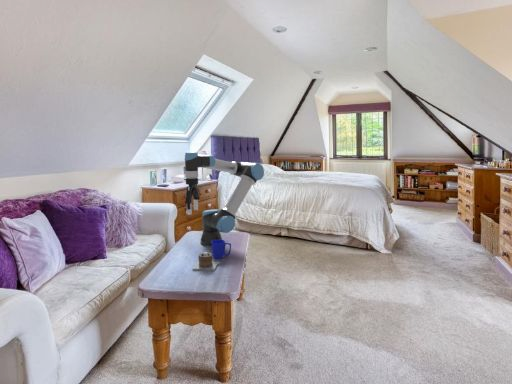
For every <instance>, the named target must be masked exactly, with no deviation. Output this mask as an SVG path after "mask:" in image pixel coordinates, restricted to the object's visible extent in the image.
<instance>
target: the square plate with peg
mask: <svg viewBox="0 0 512 384" xmlns="http://www.w3.org/2000/svg"><path fill="white" fill-rule="evenodd" d="M203 253H204V256H208V253H209V252H207V251H205V252H203ZM212 263H213V264H212V266H211V267H207V268H206V267H200V266H199V260H198V261H197V262H196V263H195V265H194V266H193V267H192V271H197V272H198V271H201V272H215V270H216V269H217V267H218V266H219V264H220V261H215V260H212Z"/></svg>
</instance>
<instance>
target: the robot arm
mask: <svg viewBox="0 0 512 384" xmlns="http://www.w3.org/2000/svg"><path fill="white" fill-rule="evenodd" d="M184 167H185V168H184V169H185V170H184V171H185V172H184V174H185V185H188V186H186V194H185V202H184V204H186V215H189V216H190V215H193V213H192V212H193V211H199V200H200V194H199V189H198V185H199V169H200V168H202V169H207V170H213V171H219V172H222V173H223V172H224V173H228V174H230V176H231V175H232V176H237V177H239V178H240V180H239V182H238V184H236V185H237V186H236V187H235V189H234V190H233V193H232V194H231V196H230V198H229V199H228V201H227V202H226V204H225V206H224V207H223V208H220V210H219V209H217V208H216V209H207V210H206V209H205V210H203V211H202V216H201V217H202V234H201V237H200V244H201V245H203V246H209V247H210V246H211V247H212V244H211V242H212V241H213V240H223V237H222V234H221V233H223V234H227V233H230V232H232V231H233V230H234V228H235V227H236V219H237V218H236V217H237V215H236V213H237V212H238V210H239V208H240V206H241V205H242V203H243V201H244V199H245V198H246V197H247V195H248V193H249V191H250V189H251V187H252V186H254V185H256V183H257V182H258V181H259V180H262V179H263V178H264V175H265V169H264V166H263V165H262V163H259V162H256V161H255V162H250V161H249V162H247V161H227V160H222V159H219V158H216V157H215V156H214V155H213V154H198V152H197V151H187V152H185V153H184ZM192 199H193V208H192ZM192 209H193V210H192Z"/></svg>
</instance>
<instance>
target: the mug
mask: <svg viewBox="0 0 512 384" xmlns="http://www.w3.org/2000/svg"><path fill="white" fill-rule="evenodd" d="M211 244H212V245H211V252H212V253H211V254H212V258H214V259H218V260H219V259H223V258H224V257H225V256H230V254H231V249H232V243H230V242H226V241H225V240H224V239H222V240H213V241H212V242H211ZM226 245H229V251H228V253H226Z"/></svg>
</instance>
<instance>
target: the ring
mask: <svg viewBox="0 0 512 384" xmlns="http://www.w3.org/2000/svg"><path fill="white" fill-rule="evenodd" d="M204 253H205V252H201V253H200V254H198V261H199V266H200V267H206V268H207V267H211V266H212V264H213V263H212V261H213V254H212V253H211V252H207V253H208V256H204Z"/></svg>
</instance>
